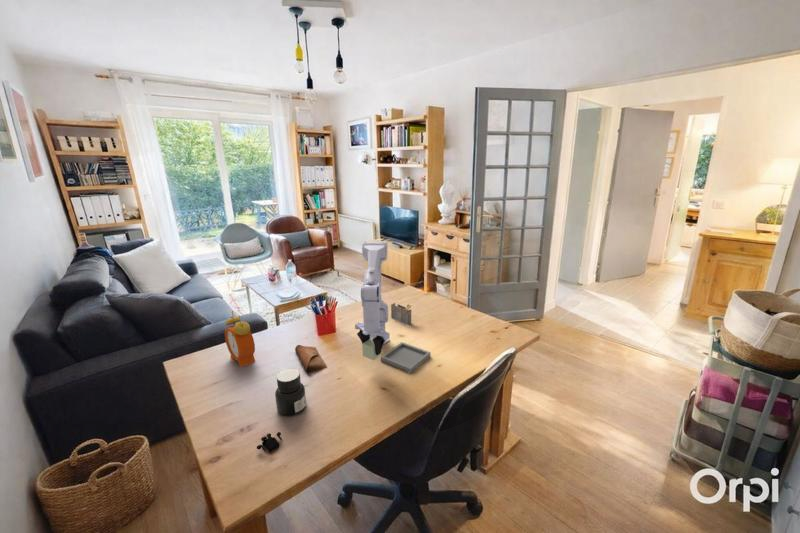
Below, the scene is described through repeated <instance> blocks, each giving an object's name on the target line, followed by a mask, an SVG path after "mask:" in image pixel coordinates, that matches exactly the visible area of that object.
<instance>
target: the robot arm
mask: <svg viewBox="0 0 800 533" xmlns="http://www.w3.org/2000/svg"><path fill="white" fill-rule="evenodd" d="M361 250H362V251H361V252H362V253H361V254H362V256H363V258H364V260H365V262H366V261H367V269H365V271H364V273H363V274H364V275H363V284H362V286H361V287H360V299H361V307H362V314H363V315H362V316H363V317H362V318H363V322H357V323H355V324H354V329H355V330H359V331H358V332H357V334H356V335H357V337H358V338H359V340H360V341H361V344H362V343H364V342H366V341H367V340H369V339H371V338H373V342H374V345H375V353H376V355H379V354H380V353H381V350H382V351H383V346H384V345H385V344H387V343H389V341H390V340H391V339H390V332H387V331H386V323H388V322H389V305H388V303H387V302H385V301H384V300H383V299H382V265H383V263H384V262H385V261H387V260H388V242H387V241H386V240H384V241H379V240H378V241H371V240H370V241H365V240H363V242H362V247H361Z"/></svg>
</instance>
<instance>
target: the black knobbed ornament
mask: <svg viewBox="0 0 800 533" xmlns="http://www.w3.org/2000/svg"><path fill="white" fill-rule="evenodd" d="M281 435H282V433H281V432H280V431H279V432H277V433H276V437H278V439H279V440H280V441H281V442H283V438H281ZM276 437H273V436H272V434H271V433H270V432H269V433H267V434H266V436H262V438H261V439H260V441H261V442H262V443H261V444H258V445H257V446H256V449H257V450H261V449H262V450H263V452H264V453H267V451H268V452H269V453H272V452H273V451H275V450H277V449H278V448H279V446H280V443H279V441H278V440H277V438H276Z"/></svg>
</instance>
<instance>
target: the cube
mask: <svg viewBox="0 0 800 533" xmlns="http://www.w3.org/2000/svg"><path fill="white" fill-rule="evenodd" d="M361 346H362V348H361V349H362V356H363V357H365V358H367V359H369V360H372V361H375V360H376V359H377V358H379V357H381V356H383V349H382V350H381V353H380V354H379V355H376V353H375V345H374V342H373V338H371V339H369V340H367V341H366V342H364V343H362V342H361Z"/></svg>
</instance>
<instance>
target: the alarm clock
mask: <svg viewBox="0 0 800 533" xmlns="http://www.w3.org/2000/svg"><path fill="white" fill-rule="evenodd" d="M234 313H235V314H236V315H238V316H234ZM231 314H232V316H230V318H229V319H227V320H226V321H225V324H224V325H225V326H229V325H231V326H229V327H226V328H225V331H224V340H225V344H226V346H227V349H228V352H229V354H230V358H231V359H232V360H235V361H237V363H238V365H239V366H240V367H241V368H243V367H245V366H248V365H250V364H252V363H255V362H256V359H255V356H254V354H255V351H256V343H255V340H254V337H253V334H252V331H251V326H250V324H249V323H248V322H246V321H242V319H241V316H240V314H239V313H238V312H236V311H234V310H232V311H231Z"/></svg>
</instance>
